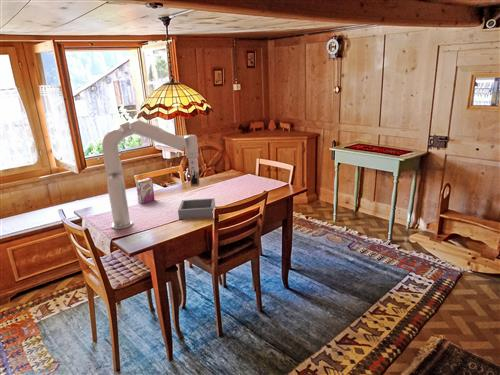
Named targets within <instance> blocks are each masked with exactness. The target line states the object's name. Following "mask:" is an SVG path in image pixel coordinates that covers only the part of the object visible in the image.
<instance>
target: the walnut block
mask: <svg viewBox="0 0 500 375" xmlns="http://www.w3.org/2000/svg"><path fill="white" fill-rule="evenodd" d="M199 172H200V171H198V173H196V178H197V184H192V176H191V173H190V172H189V180H190V187H192V188H193V187H194V188H195V187H200V175H199ZM194 173H195V172H194Z"/></svg>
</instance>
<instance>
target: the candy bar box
mask: <svg viewBox="0 0 500 375" xmlns="http://www.w3.org/2000/svg"><path fill="white" fill-rule="evenodd" d="M135 185H136V192H137V201H138V203H139V204H140V205H141V204H142V205H143V204H145V203H149V202H152V201H154V200H155V193H154V192H155V191H154V183H153V178H151V177H147V178H144V179H139V180H136V181H135Z"/></svg>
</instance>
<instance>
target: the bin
mask: <svg viewBox="0 0 500 375" xmlns="http://www.w3.org/2000/svg"><path fill="white" fill-rule="evenodd" d="M214 207H215V208H216V200H215V198H200V199H199V198H198V199H196V198H195V199H183V200H181V202H180V204H179V207H178V209H177V214H178V220H189V219H190V220H191V219H205V218H207V219H208V218H209V219H210V218H214V217H213V213H212V211H213V208H214Z"/></svg>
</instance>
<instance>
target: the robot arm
mask: <svg viewBox="0 0 500 375" xmlns="http://www.w3.org/2000/svg"><path fill="white" fill-rule="evenodd" d="M132 135H137V136H139V137H143V138H146V139H147V140H150V141H151V140H152V141H154V142H156V143H159V144H162V145H165V146H167V147H170V148H173V149H176V150H179V151H180V150H181V151H182V150H184V149H185V156H186V159H188V168H189V174H190V173H191V176H192V184H197V178H196V173H198V172H200V168H199V160H198V158H199V146H198V138H197V135H196V134H187V135H176V134H174V133H172V132H171V133H170V132H168V131H166V130H165V129H163V128H161V127H159V126H157V125H154V124H151V123H148V122H145V121H143V120H142V119H138V118H132V119H129V120H128V121H124V122H122V123H119V124H116V125H114V126H112V127H111V129H110V130H109V131H108V132H107V133H106V134H105V135H104V137H103V139H102V143H101V145H102V147H101V148H102V156H103V161H104V163H103V164H104V168H105V175H106V179H107V181H106V185H107V186H106V187H107V193H108V198H109V203H110V208H111V215H112V221H113V222H112V223H111V228H112V229H114V230H123V229H127V228H130V227H131V226H133V225H134V221H133V220H132V219H131V218H130V212H129V204H128V200H127V198H128V197H127V193H126V184H125V179H124V174H123V173H124V171H123V166H122V160H121V158H120V154H119V144H120V143H121V142H123V141H124V140H125V139H126V138H127V137H130V136H132ZM194 172H195V173H194Z"/></svg>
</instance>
